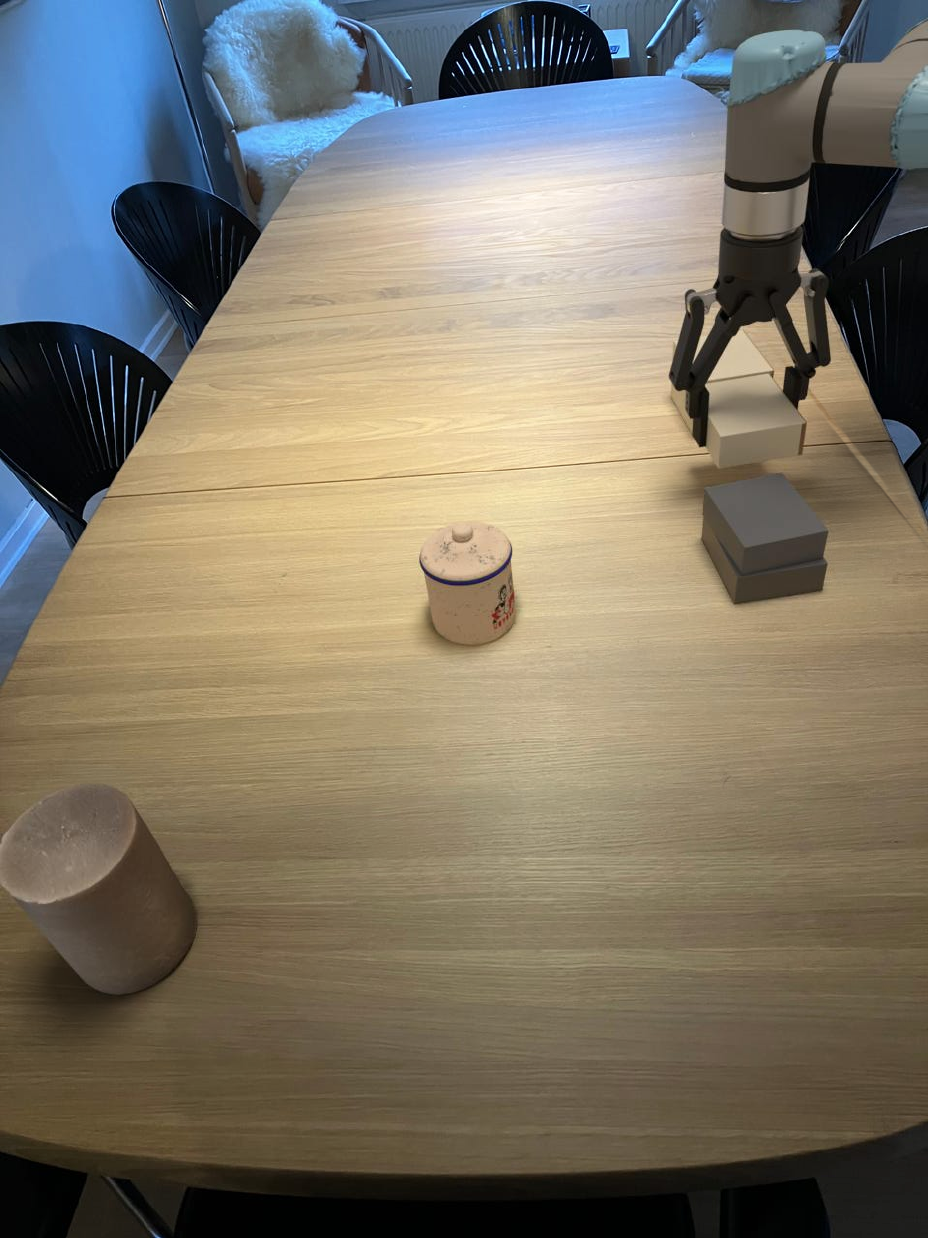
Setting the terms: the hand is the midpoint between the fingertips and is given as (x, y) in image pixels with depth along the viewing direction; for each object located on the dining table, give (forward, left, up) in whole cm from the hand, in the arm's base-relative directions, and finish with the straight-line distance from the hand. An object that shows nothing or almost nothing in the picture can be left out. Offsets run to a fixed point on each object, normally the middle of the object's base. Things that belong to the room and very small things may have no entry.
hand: (743, 433), depth 102 cm
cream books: (-3, -16, -7) cm, 18 cm away
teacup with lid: (+32, +14, -7) cm, 36 cm away
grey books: (+2, +14, -7) cm, 16 cm away
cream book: (0, 0, 0) cm, 0 cm away
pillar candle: (+63, +46, -7) cm, 78 cm away
